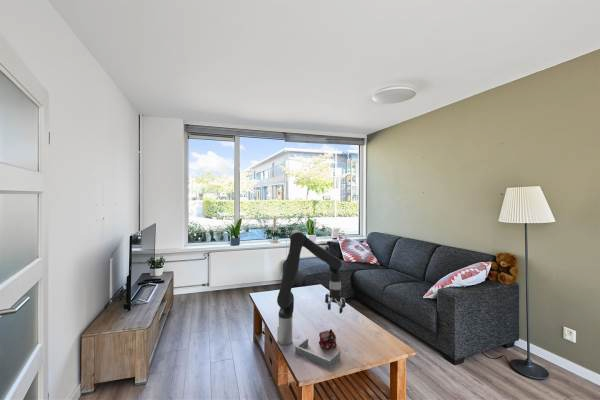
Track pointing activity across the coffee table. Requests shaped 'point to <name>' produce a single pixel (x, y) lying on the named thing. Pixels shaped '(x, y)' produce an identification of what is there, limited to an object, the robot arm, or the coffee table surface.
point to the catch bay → (315, 357)
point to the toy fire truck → (327, 339)
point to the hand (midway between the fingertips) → (335, 311)
